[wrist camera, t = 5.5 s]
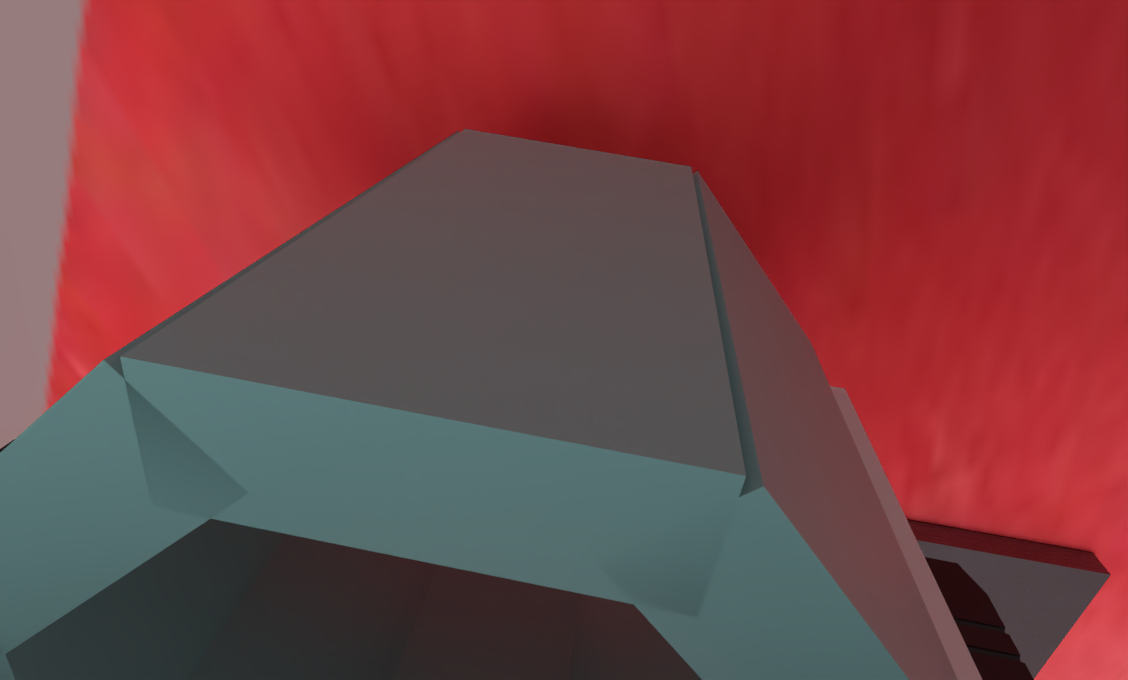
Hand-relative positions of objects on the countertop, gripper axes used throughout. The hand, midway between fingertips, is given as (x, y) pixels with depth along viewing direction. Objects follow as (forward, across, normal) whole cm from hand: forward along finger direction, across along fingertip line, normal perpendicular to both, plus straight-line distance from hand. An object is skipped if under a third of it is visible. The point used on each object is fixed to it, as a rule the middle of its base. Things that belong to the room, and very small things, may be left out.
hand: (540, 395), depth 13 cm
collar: (0, 0, 0) cm, 0 cm away
